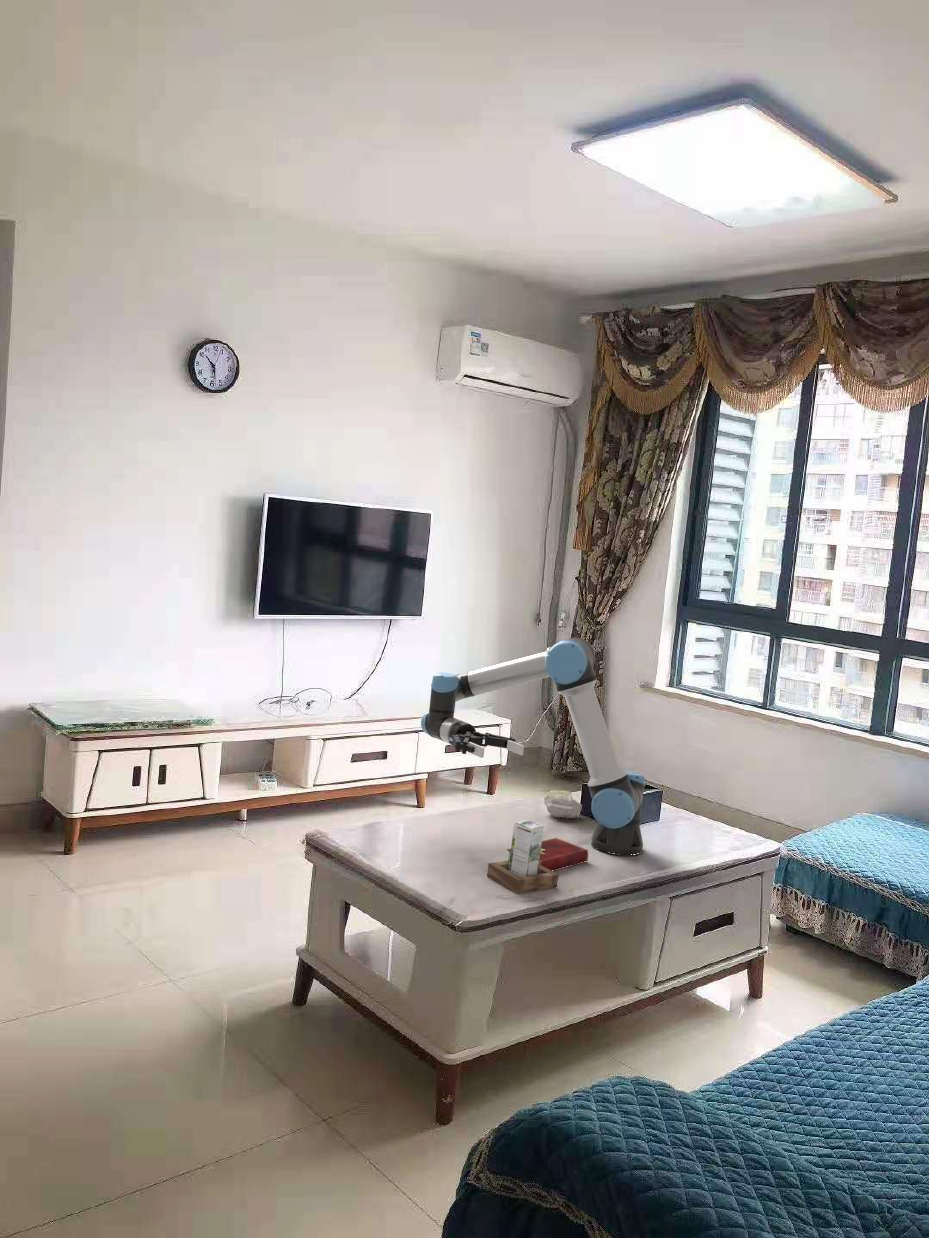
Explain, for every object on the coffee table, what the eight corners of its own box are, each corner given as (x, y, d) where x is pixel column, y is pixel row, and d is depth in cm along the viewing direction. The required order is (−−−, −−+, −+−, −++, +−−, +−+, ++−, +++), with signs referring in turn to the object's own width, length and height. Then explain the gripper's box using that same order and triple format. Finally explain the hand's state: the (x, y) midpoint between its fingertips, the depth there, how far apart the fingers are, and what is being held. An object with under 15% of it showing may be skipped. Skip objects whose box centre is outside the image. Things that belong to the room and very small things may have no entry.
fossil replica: (585, 820, 329) (566, 814, 337) (589, 795, 329) (569, 789, 337) (556, 820, 322) (537, 813, 330) (559, 794, 322) (540, 788, 331)
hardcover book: (587, 863, 287) (588, 848, 287) (538, 876, 272) (540, 861, 272) (554, 850, 295) (556, 836, 295) (505, 862, 281) (507, 847, 280)
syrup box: (519, 872, 269) (525, 818, 268) (538, 878, 266) (544, 824, 264) (506, 876, 265) (513, 822, 263) (525, 883, 261) (532, 828, 260)
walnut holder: (525, 870, 274) (527, 857, 274) (557, 887, 264) (558, 874, 263) (486, 876, 267) (488, 863, 266) (517, 893, 256) (519, 880, 256)
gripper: (491, 744, 303) (536, 762, 286) (421, 748, 289) (464, 767, 272) (494, 719, 303) (539, 736, 285) (423, 722, 288) (467, 739, 271)
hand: (503, 751), depth 278 cm, fingers open, 13 cm apart
